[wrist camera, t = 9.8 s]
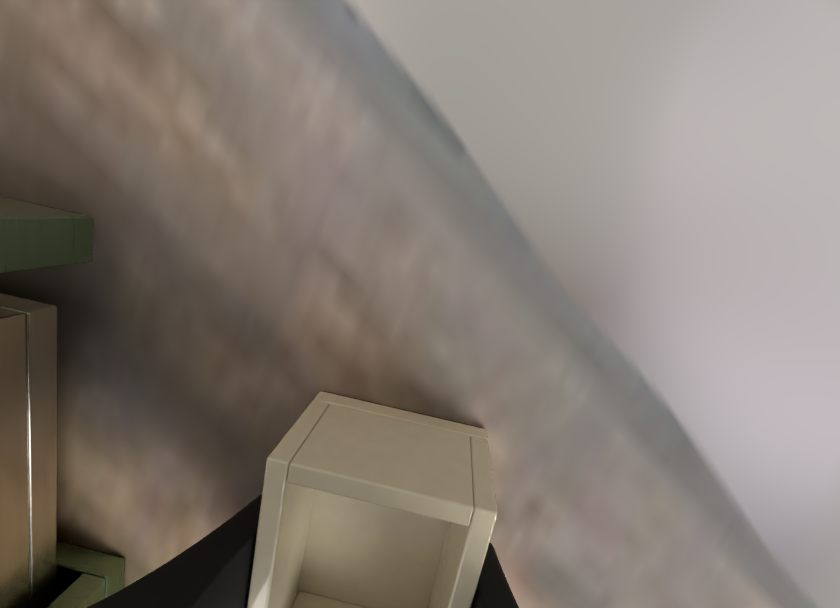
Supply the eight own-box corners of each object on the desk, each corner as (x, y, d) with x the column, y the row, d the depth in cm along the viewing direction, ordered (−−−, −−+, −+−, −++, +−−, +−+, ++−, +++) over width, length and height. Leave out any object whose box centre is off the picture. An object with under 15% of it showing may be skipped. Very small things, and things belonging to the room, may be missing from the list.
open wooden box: (487, 428, 12) (498, 513, 9) (436, 619, 14) (429, 755, 10) (319, 389, 12) (265, 457, 9) (289, 581, 14) (233, 703, 10)
